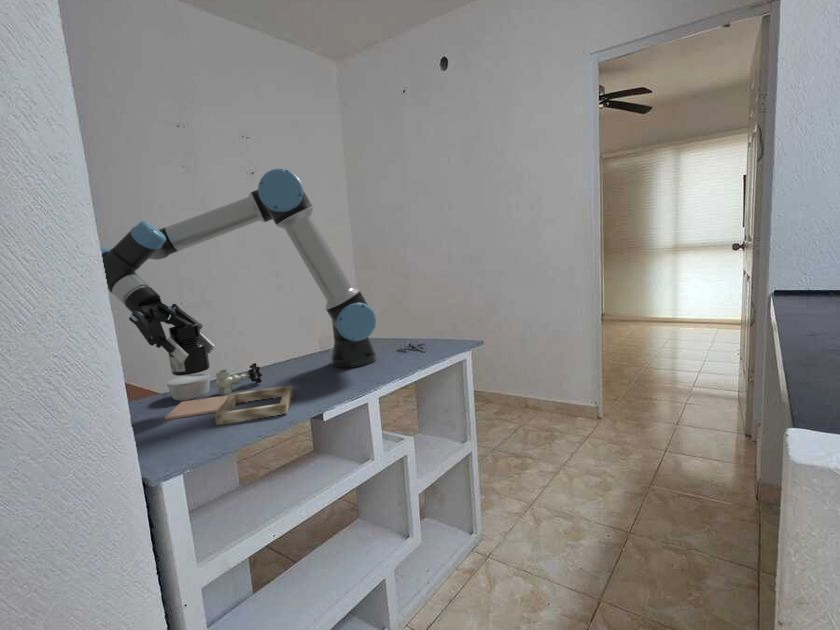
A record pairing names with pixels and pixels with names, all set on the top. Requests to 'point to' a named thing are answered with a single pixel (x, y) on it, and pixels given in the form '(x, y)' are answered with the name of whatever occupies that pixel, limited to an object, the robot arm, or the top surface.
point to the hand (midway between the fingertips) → (198, 354)
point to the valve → (235, 379)
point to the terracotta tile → (197, 407)
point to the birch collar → (232, 416)
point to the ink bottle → (189, 350)
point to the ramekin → (189, 386)
